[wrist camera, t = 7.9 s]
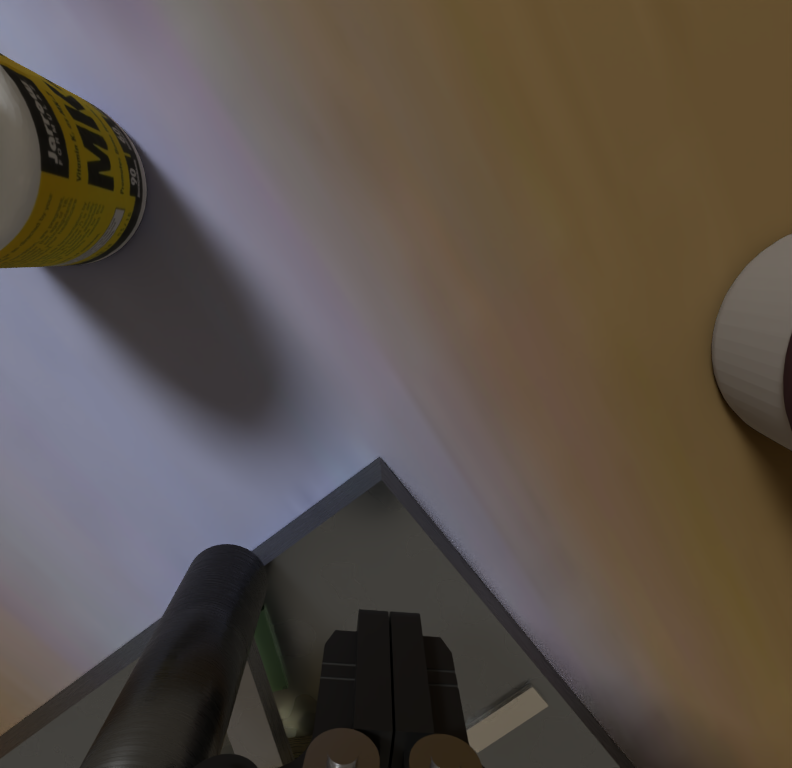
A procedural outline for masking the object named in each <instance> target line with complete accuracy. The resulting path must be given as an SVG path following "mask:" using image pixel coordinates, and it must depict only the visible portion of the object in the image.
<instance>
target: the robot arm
mask: <svg viewBox="0 0 792 768" xmlns="http://www.w3.org/2000/svg"><path fill="white" fill-rule="evenodd" d="M193 768H258V767H257V766H256V765H255V764H254V763H253V762H252V761H251V760H249V759H248V758H246V757H244V756H241V755H237V754H221V755H216V756H213V757H210V758H208V759H206V760H203V761H202V762H200V763H199V764H197V765H196V766H195V767H193ZM278 768H485V767H484V766H483V765H482V764H481V762H480V759H479V757H478V755H477V754H476V752H475V751H474V750H473V749H472V748H471V747H470V745H469V741H468V736H467V731H466V726H465V720H464V715H463V710H462V704H461V699H460V694H459V688H458V683H457V678H456V674H455V667H454V662H453V656H452V652H451V651H450V650H449V648H448V647H447V645H446V644H445V643H444V641H443V640H442V639H441V637H431V636H423V634H422V626H421V617H420V614H419V613H407V612H393V611H390V613H388V611H378V610H364V609H359V612H358V621H357V631H343V630H335V631H334V632H333V634H332V635H331V636H330V638H329V639H328V640H327V642H326V643H325V645H324V653H323V661H322V669H321V677H320V684H319V692H318V700H317V707H316V715H315V723H314V730H313V736H312V739H311V741H310V744H309V745H308V747H307V749H306V750H305V751H304V752H303V753H302V754H301V755H300V756H299V757H298V758H297V759H295V760H293V761H292V762H290V763H288V764H286V765H284V766H281V767H278Z"/></svg>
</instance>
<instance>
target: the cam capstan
mask: <svg viewBox="0 0 792 768" xmlns="http://www.w3.org/2000/svg"><path fill="white" fill-rule="evenodd" d="M267 588H268V574H267V571H266V568H265V566H264V564H263V563H262V561H261V560H260V559H259V558H258V557H257V556H256V555H255V554H254V553H253V552H251V551H249V550H248V549H246V548H243V547H240V546H237V545H230V544H222V545H216V546H213V547H210V548H208V549H206V550H204V551H202V552H201V553H200V554H199V555H198V556H197V557H196V558H195V559H194V560H193V562H192V563H191V565H190V567H189V569H188V571H187V572H186V574H185V576H184V578H183V580H182V582H181V583H180V585H179V587H178V589H177V591H176V592H175V594H174V596H173V598H172V600H171V602H170V603H169V605H168V607H167V609H166V611H165V613H164V614H163V616H162V618H161V620H160V622H159V623H158V625H157V627H156V629H155V631H154V633H153V634H152V636H151V638H150V640H149V642H148V644H147V645H146V647H145V649H144V651H143V653H142V654H141V656H140V658H139V660H138V662H137V664H136V665H135V667H134V669H133V671H132V673H131V675H130V676H129V678H128V680H127V682H126V684H125V686H124V687H123V689H122V691H121V693H120V695H119V696H118V698H117V700H116V702H115V704H114V706H113V707H112V709H111V711H110V713H109V715H108V717H107V718H106V720H105V722H104V724H103V726H102V727H101V729H100V731H99V733H98V735H97V737H96V738H95V740H94V742H93V744H92V746H91V748H90V749H89V751H88V753H87V755H86V757H85V758H84V760H83V762H82V764H81V766H80V768H193V767H195V766H196V765H197V764H199V763H200V762H202V761H203V760H206V759H208V758H210V757H213V756H216V755H220V754H221V750H222V747H223V743H224V740H225V736H226V733H227V734H228V737H229V740H230V743H231V745H232V748H233V751H234V754H237V755H241V756H244V757H246V758H248V759H249V760H251V761H252V762H253V763H254V764H255V765H256V766H257V767H258V768H278V767H281V766H284V765H286V764H288V763H290V762H292V761H293V760H295V759H297V758H298V757H299V756H300V755H301V754H302V753H303V752H304V751H305V750H306V749H307V747H308V745H309V744H310V741H311V739H312V736H313V735H310V736H296V737H291V738H288V737H287V734H286V731H285V728H284V725H283V722H282V719H281V716H280V713H279V710H278V707H277V704H276V701H275V698H274V695H273V692H272V689H271V686H270V683H269V680H268V677H267V674H266V671H265V668H264V665H263V662H262V659H261V656H260V653H259V650H258V647H257V644H256V641H255V638H254V634H255V630H256V627H257V623H258V620H259V616H260V613H261V609H262V606H263V602H264V599H265V595H266V592H267Z"/></svg>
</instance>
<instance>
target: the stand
mask: <svg viewBox="0 0 792 768" xmlns="http://www.w3.org/2000/svg"><path fill="white" fill-rule="evenodd" d="M251 552H253V553H254V554H255V555H256V556H257V557H258V558H259V559H260V560H261V561H262V563H263V564H264V566H265V568H266V571H267V574H268V588H267V592H266V595H265V599H264V602H263V606H262V609H261V613H260V616H259V620H258V623H257V627H256V630H255V634H254V638H255V641H256V644H257V647H258V650H259V653H260V656H261V659H262V662H263V665H264V668H265V671H266V674H267V677H268V680H269V683H270V686H271V689H272V692H273V695H274V698H275V701H276V704H277V707H278V710H279V713H280V716H281V719H282V722H283V725H284V728H285V731H286V734H287V737H288V738H291V737H296V736H310V735H313V730H314V723H315V715H316V707H317V700H318V692H319V684H320V677H321V669H322V661H323V653H324V645H325V643H326V642H327V640H328V639H329V638H330V636H331V635H332V634H333V632H334V631H335V630H343V631H357V621H358V612H359V609H364V610H378V611H388V613H390V611H393V612H407V613H419V614H420V617H421V626H422V634H423V636H431V637H441V639H442V640H443V641H444V643H445V644H446V645H447V647H448V648H449V650H450V651H451V652H452V656H453V662H454V667H455V674H456V678H457V683H458V688H459V694H460V699H461V704H462V710H463V715H464V720H465V726H466V731H467V736H468V741H469V745H470V747H471V748H472V749H473V750H474V751H475V752H476V754H477V755H478V757H479V759H480V762H481V764H482V765H483V766H484V767H485V768H635V767H634V766H633V765H632V763H631V762H630V761H629V760H628V758H627V757H626V756H625V755H624V754H623V752H622V751H621V750H620V749H619V748H618V746H617V745H616V744H615V743H614V741H613V740H612V739H611V738H610V737H609V735H608V734H607V733H606V732H605V730H604V729H603V728H602V727H601V726H600V724H599V723H598V722H597V721H596V719H595V718H594V717H593V716H592V715H591V713H590V712H589V711H588V710H587V709H586V707H585V706H584V705H583V704H582V702H581V701H580V700H579V699H578V698H577V696H576V695H575V694H574V693H573V691H572V690H571V689H570V688H569V687H568V685H567V684H566V683H565V682H564V681H563V679H562V678H561V677H560V676H559V674H558V673H557V672H556V671H555V670H554V668H553V667H552V666H551V665H550V663H549V662H548V661H547V660H546V659H545V657H544V656H543V655H542V654H541V653H540V651H539V650H538V649H537V648H536V646H535V645H534V644H533V643H532V642H531V640H530V639H529V638H528V637H527V635H526V634H525V633H524V632H523V631H522V629H521V628H520V627H519V626H518V625H517V623H516V622H515V621H514V620H513V618H512V617H511V616H510V615H509V614H508V612H507V611H506V610H505V609H504V607H503V606H502V605H501V604H500V603H499V601H498V600H497V599H496V598H495V596H494V595H493V594H492V593H491V592H490V590H489V589H488V588H487V587H486V586H485V584H484V583H483V582H482V581H481V579H480V578H479V577H478V576H477V575H476V573H475V572H474V571H473V570H472V568H471V567H470V566H469V565H468V564H467V562H466V561H465V560H464V559H463V558H462V556H461V555H460V554H459V553H458V551H457V550H456V549H455V548H454V547H453V545H452V544H451V543H450V542H449V540H448V539H447V538H446V537H445V536H444V534H443V533H442V532H441V531H440V530H439V528H438V527H437V526H436V525H435V523H434V522H433V521H432V520H431V519H430V517H429V516H428V515H427V514H426V512H425V511H424V510H423V509H422V508H421V506H420V505H419V504H418V503H417V502H416V500H415V499H414V498H413V497H412V495H411V494H410V493H409V492H408V491H407V489H406V488H405V487H404V486H403V484H402V483H401V482H400V481H399V480H398V478H397V477H396V476H395V475H394V473H393V472H392V471H391V470H390V469H389V467H388V466H387V465H386V464H385V463H384V461H383V460H382V459H381V458H380V457H379V458H377V459H376V460H375V461H373V462H372V463H371V464H369V465H368V466H367V467H365V468H364V469H363V470H361V471H360V472H358V473H357V474H356V475H354V476H353V477H352V478H350V479H349V480H348V481H346V482H345V483H344V484H342V485H341V486H339V487H338V488H337V489H335V490H334V491H333V492H331V493H330V494H329V495H327V496H326V497H325V498H323V499H322V500H320V501H319V502H318V503H316V504H315V505H314V506H312V507H311V508H310V509H308V510H307V511H306V512H304V513H303V514H301V515H300V516H299V517H297V518H296V519H295V520H293V521H292V522H291V523H289V524H288V525H287V526H285V527H284V528H282V529H281V530H280V531H278V532H277V533H276V534H274V535H273V536H272V537H270V538H269V539H268V540H266V541H265V542H263V543H262V544H261V545H259V546H258V547H257V548H255V549H254V550H253V551H251ZM160 620H161V618H160V619H159V620H158V621H156V622H155V623H153V624H152V625H151V626H149V627H148V628H147V629H145V630H144V631H143V632H141V633H140V634H139V635H137V636H136V637H134V638H133V639H132V640H130V641H129V642H128V643H126V644H125V645H124V646H122V647H121V648H120V649H118V650H117V651H115V652H114V653H113V654H111V655H110V656H109V657H107V658H106V659H105V660H103V661H102V662H101V663H99V664H98V665H96V666H95V667H94V668H92V669H91V670H90V671H88V672H87V673H86V674H84V675H83V676H82V677H80V678H79V679H77V680H76V681H75V682H73V683H72V684H71V685H69V686H68V687H67V688H65V689H64V690H63V691H61V692H60V693H58V694H57V695H56V696H54V697H53V698H52V699H50V700H49V701H48V702H46V703H45V704H44V705H42V706H41V707H39V708H38V709H37V710H35V711H34V712H33V713H31V714H30V715H29V716H27V717H26V718H25V719H23V720H22V721H20V722H19V723H18V724H16V725H15V726H14V727H12V728H11V729H10V730H8V731H7V732H6V733H4V734H3V735H1V736H0V768H80V766H81V764H82V762H83V760H84V758H85V757H86V755H87V753H88V751H89V749H90V748H91V746H92V744H93V742H94V740H95V738H96V737H97V735H98V733H99V731H100V729H101V727H102V726H103V724H104V722H105V720H106V718H107V717H108V715H109V713H110V711H111V709H112V707H113V706H114V704H115V702H116V700H117V698H118V696H119V695H120V693H121V691H122V689H123V687H124V686H125V684H126V682H127V680H128V678H129V676H130V675H131V673H132V671H133V669H134V667H135V665H136V664H137V662H138V660H139V658H140V656H141V654H142V653H143V651H144V649H145V647H146V645H147V644H148V642H149V640H150V638H151V636H152V634H153V633H154V631H155V629H156V627H157V625H158V623H159V622H160ZM221 754H234V751H233V748H232V745H231V743H230V740H229V737H228V734H227V733H226V736H225V740H224V743H223V747H222V750H221ZM221 754H220V755H221Z"/></svg>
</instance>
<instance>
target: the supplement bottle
mask: <svg viewBox="0 0 792 768" xmlns="http://www.w3.org/2000/svg"><path fill="white" fill-rule="evenodd" d="M146 197H147V185H146V177H145V172H144V168H143V165H142V162H141V159H140V156H139V154H138V152H137V150H136V148H135V146H134V144H133V143H132V141H131V140H130V138H129V137H128V135H127V134H126V133H125V132H124V130H123V129H122V128H121V127H120V126H119V125H118V124H117V123H116V122H115V121H114V120H113V119H112V118H111V117H109V116H108V115H107V114H106V113H104V112H103V111H102V110H100V109H99V108H97V107H96V106H94V105H92V104H91V103H89V102H87V101H85V100H84V99H82V98H80V97H78V96H77V95H75V94H73V93H71V92H69V91H67V90H66V89H64V88H62V87H60V86H58V85H56V84H54V83H53V82H51V81H49V80H47V79H45V78H44V77H42V76H40V75H38V74H36V73H35V72H33V71H31V70H29V69H27V68H25V67H23V66H22V65H20V64H18V63H16V62H14V61H12V60H11V59H9V58H7V57H5V56H4V55H2V54H1V53H0V268H18V267H44V266H69V265H83V264H89V263H93V262H96V261H99V260H102V259H104V258H106V257H108V256H110V255H112V254H114V253H115V252H117V251H118V250H119V249H121V248H122V247H123V246H124V245H125V244H126V243H127V242H128V241H129V240H130V238H131V237H132V236H133V234H134V233H135V231H136V230H137V228H138V226H139V224H140V222H141V219H142V217H143V213H144V210H145V205H146Z"/></svg>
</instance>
